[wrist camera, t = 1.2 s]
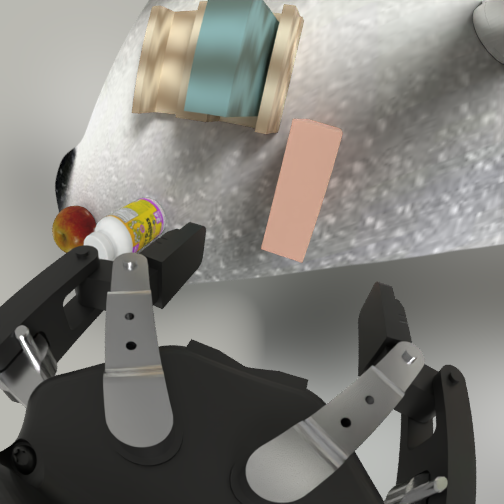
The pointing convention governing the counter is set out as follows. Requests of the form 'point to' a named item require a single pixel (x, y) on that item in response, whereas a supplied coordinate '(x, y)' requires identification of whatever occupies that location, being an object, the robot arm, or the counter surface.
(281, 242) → the coral book
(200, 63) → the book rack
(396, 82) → the counter surface
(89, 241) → the supplement bottle
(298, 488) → the robot arm
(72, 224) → the fruit
